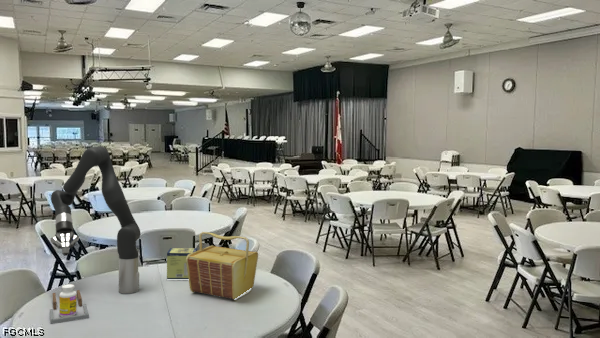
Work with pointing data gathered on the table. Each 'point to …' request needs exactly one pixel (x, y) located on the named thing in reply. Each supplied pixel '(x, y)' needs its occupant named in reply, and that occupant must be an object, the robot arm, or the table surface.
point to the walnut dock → (77, 300)
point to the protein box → (178, 262)
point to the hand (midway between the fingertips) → (65, 254)
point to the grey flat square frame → (69, 316)
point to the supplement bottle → (67, 301)
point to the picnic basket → (221, 269)
